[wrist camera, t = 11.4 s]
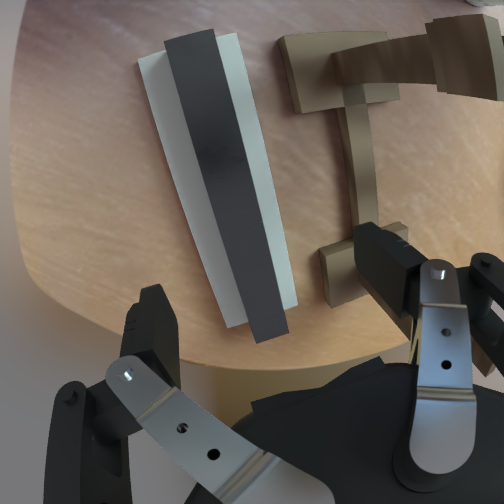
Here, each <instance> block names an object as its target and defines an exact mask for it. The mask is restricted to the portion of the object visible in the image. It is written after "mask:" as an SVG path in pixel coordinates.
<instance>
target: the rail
mask: <svg viewBox="0 0 504 504" xmlns="http://www.w3.org/2000/svg"><path fill="white" fill-rule="evenodd" d="M164 44H165V48H166V52H167V55H168V59H169V63H170V66H171V70H172V74H173V77H174V81H175V84H176V88H177V92H178V95H179V99H180V102H181V106H182V109H183V113H184V116H185V120H186V123H187V126H188V130H189V133H190V137H191V140H192V144H193V147H194V150H195V154H196V157H197V160H198V164H199V167H200V170H201V174H202V177H203V180H204V184H205V187H206V190H207V193H208V197H209V200H210V203H211V206H212V210H213V213H214V216H215V219H216V222H217V226H218V229H219V232H220V235H221V238H222V241H223V245H224V248H225V251H226V254H227V257H228V260H229V263H230V266H231V269H232V272H233V276H234V279H235V282H236V285H237V288H238V291H239V294H240V297H241V300H242V303H243V306H244V309H245V312H246V315H247V318H248V321H249V324H250V327H251V330H252V333H253V336H254V339H255V342H256V344H257V343H260V342H263V341H266V340H269V339H272V338H275V337H278V336H281V335H284V334H287V333H289V331H288V326H287V322H286V317H285V313H284V309H283V304H282V300H281V296H280V291H279V287H278V283H277V278H276V274H275V270H274V266H273V261H272V257H271V253H270V249H269V244H268V240H267V236H266V232H265V228H264V224H263V220H262V215H261V211H260V207H259V203H258V199H257V195H256V191H255V187H254V183H253V179H252V175H251V171H250V167H249V163H248V159H247V155H246V151H245V147H244V143H243V139H242V135H241V131H240V128H239V124H238V120H237V116H236V112H235V108H234V104H233V101H232V97H231V93H230V89H229V85H228V82H227V78H226V74H225V70H224V67H223V63H222V59H221V56H220V52H219V48H218V45H217V41H216V37H215V34H214V30H213V29H209V30H205V31H200V32H196V33H192V34H188V35H185V36H181V37H177V38H174V39H170V40H167V41H164Z"/></svg>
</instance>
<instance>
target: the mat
mask: <svg viewBox="0 0 504 504" xmlns="http://www.w3.org/2000/svg"><path fill="white" fill-rule="evenodd" d="M216 41H217V45H218V48H219V52H220V56H221V59H222V63H223V67H224V70H225V74H226V78H227V82H228V85H229V89H230V93H231V97H232V101H233V104H234V108H235V112H236V116H237V120H238V124H239V128H240V131H241V135H242V139H243V143H244V147H245V151H246V155H247V159H248V163H249V167H250V171H251V175H252V179H253V183H254V187H255V191H256V195H257V199H258V203H259V207H260V211H261V215H262V220H263V224H264V228H265V232H266V236H267V240H268V244H269V249H270V253H271V257H272V261H273V266H274V270H275V274H276V278H277V283H278V287H279V291H280V296H281V300H282V304H283V309H284V310H286V309H289V308H292V307H295V306H298V302H297V297H296V291H295V286H294V281H293V276H292V271H291V266H290V260H289V255H288V250H287V246H286V241H285V236H284V231H283V226H282V221H281V217H280V212H279V207H278V203H277V198H276V193H275V189H274V184H273V180H272V175H271V171H270V166H269V162H268V158H267V153H266V149H265V145H264V140H263V136H262V132H261V128H260V124H259V119H258V115H257V111H256V107H255V103H254V99H253V95H252V91H251V87H250V83H249V79H248V75H247V72H246V68H245V64H244V60H243V56H242V52H241V49H240V45H239V41H238V38H237V34H236V33H232V34H226V35H222V36H217V37H216ZM138 63H139V67H140V71H141V74H142V78H143V81H144V85H145V89H146V92H147V96H148V99H149V103H150V106H151V109H152V113H153V116H154V120H155V123H156V126H157V129H158V133H159V136H160V139H161V142H162V146H163V149H164V152H165V155H166V158H167V161H168V165H169V168H170V171H171V174H172V177H173V180H174V183H175V186H176V189H177V192H178V195H179V198H180V201H181V204H182V207H183V210H184V213H185V215H186V218H187V221H188V224H189V227H190V230H191V233H192V235H193V238H194V241H195V244H196V247H197V249H198V252H199V255H200V258H201V260H202V263H203V266H204V268H205V271H206V274H207V276H208V279H209V282H210V284H211V287H212V290H213V292H214V295H215V297H216V300H217V303H218V305H219V308H220V310H221V313H222V315H223V318H224V320H225V323H226V325H227V328H231V327H234V326H237V325H240V324H244V323H247V322H249V321H248V318H247V315H246V312H245V309H244V306H243V303H242V300H241V297H240V294H239V291H238V288H237V285H236V282H235V279H234V276H233V272H232V269H231V266H230V263H229V260H228V257H227V254H226V251H225V248H224V245H223V241H222V238H221V235H220V232H219V229H218V226H217V222H216V219H215V216H214V213H213V210H212V206H211V203H210V200H209V197H208V193H207V190H206V187H205V184H204V180H203V177H202V174H201V170H200V167H199V164H198V160H197V157H196V154H195V150H194V147H193V144H192V140H191V137H190V133H189V130H188V126H187V123H186V120H185V116H184V113H183V109H182V106H181V102H180V99H179V95H178V92H177V88H176V84H175V81H174V77H173V74H172V70H171V66H170V63H169V59H168V55H167V52H166V50H164V51H160V52H157V53H154V54H151V55H148V56H145V57H142V58H140V59H138Z"/></svg>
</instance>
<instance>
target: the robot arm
mask: <svg viewBox="0 0 504 504" xmlns="http://www.w3.org/2000/svg"><path fill="white" fill-rule="evenodd" d="M466 1H467V2H469V3H470V4H472V5H474V6H478V7H480V6H495V5H504V0H466ZM353 241H354V260H355V264H356V267H357V269H358V271H359V272H360V274H361V275H362V276H363V277H364V278H365V279H366V280H367V281H368V283H369V284H370V285H371V286H372V287H373V288H374V289H375V291H376V292H377V293H378V294H379V295H380V296H381V297H382V299H383V300H384V301H385V302H386V303H387V304H388V306H389V307H390V308H391V309H392V310H393V311H394V313H395V314H396V315H397V316H398V317H399V319H400V320H401V319H403V318H405V317H408V316H410V315H411V316H412V317H413V321H412V328H411V340H410V350H409V358H408V363H388V364H384V362H383V361H382V359H381V358H380V356H378V357H376V358H374V359H371V360H369V361H367V362H364V363H362V364H359V365H357V366H355V367H352V368H350V369H348V370H347V371H346V372H344V373H343V374H341V375H340V376H338V377H337V378H335V379H334V380H332V381H331V382H329V383H328V384H326V385H325V386H323V387H320V388H315V389H308V390H299V391H291V392H283V393H280V394H276V395H273V396H270V397H267V398H263V399H260V400H256V401H253V402H251V405H252V409H253V412H251V413H249V414H247V415H246V416H244V417H243V418H241V419H240V420H239V421H238V422H236V423H235V424H234V425H233V426H232V427H231V428H228V427H227V426H226V425H224V424H223V423H222V422H220V421H219V420H217V419H216V418H215V417H214V416H212V415H211V414H210V413H208V412H207V411H206V410H204V409H203V408H202V407H200V406H199V405H198V404H197V403H195V402H194V401H193V400H191V399H190V398H189V397H188V396H186V395H185V394H184V393H183V392H182V391H181V383H180V365H179V338H178V323H177V319H176V316H175V313H174V311H173V309H172V307H171V305H170V303H169V301H168V299H167V297H166V294H165V292H164V290H163V288H162V286H161V285H160V284H156V285H152V286H149V287H145V288H142V289H141V293H140V299H139V303H135V304H133V305H132V307H131V308H130V310H129V311H128V313H127V316H126V321H125V324H126V325H125V327H124V333H123V339H122V345H121V351H120V357H119V359H117V360H116V361H114V362H113V363H112V364H111V365H110V366H109V368H108V370H107V372H106V376H105V380H103V381H101V382H99V383H97V384H95V385H93V386H91V387H89V388H86V387H85V385H84V384H83V383H81V382H79V381H72V382H69V383H67V384H65V385H64V386H63V387H62V388H61V389H60V390H59V391H58V393H57V394H56V397H55V401H54V406H53V412H52V418H51V424H50V431H49V438H48V447H47V456H46V467H45V479H44V500H43V504H133V503H132V493H131V482H130V469H129V451H128V436H129V435H131V434H133V433H135V432H137V431H140V430H142V429H144V430H145V431H146V432H147V433H148V434H149V435H150V436H151V437H152V438H153V439H154V440H155V441H156V442H157V443H158V444H159V446H161V447H162V449H163V450H164V451H165V452H166V453H167V454H168V455H169V456H170V457H172V458H173V459H174V460H175V461H176V462H177V463H178V464H179V465H180V466H181V467H182V468H183V469H184V470H185V471H186V472H187V473H189V474H190V475H191V476H192V477H193V478H194V479H195V480H196V481H198V482H197V483H196V485H195V487H194V488H193V490H192V492H191V493H190V495H189V496H188V498H187V500H186V501H185V503H184V504H504V393H501V392H498V391H495V390H491V389H488V388H484V387H482V386H478V385H475V384H472V353H471V338H470V335H471V336H472V337H473V338H474V340H475V341H476V342H477V343H478V344H479V346H480V347H481V348H482V349H483V351H484V352H485V353H486V354H487V356H488V357H489V358H490V360H491V361H492V362H493V364H494V365H495V366H496V367H497V369H498V370H499V371H500V373H501V374H502V375H503V377H504V322H503V321H502V320H501V319H500V317H499V316H498V315H497V314H496V313H495V312H494V311H493V310H492V309H491V305H492V301H493V300H494V301H495V302H496V303H497V304H498V305H500V307H501V308H502V309H503V310H504V263H503V262H502V261H501V260H500V259H499V258H497V257H496V256H494V255H492V254H489V253H476V254H474V255H473V256H472V258H471V263H470V266H468V267H461V268H455V267H454V266H453V265H452V264H451V263H449V262H447V261H445V260H441V259H430V260H429V259H427V258H426V257H425V256H424V255H422V254H421V253H420V252H419V251H418V250H416V249H415V248H414V247H413V246H411V245H409V243H407V242H406V241H405V240H403V239H402V238H401V237H400V236H398V235H397V234H396V233H394V232H391V231H388V230H386V229H384V230H382V229H381V228H380V227H378V226H377V225H376V224H374V223H373V222H371V221H370V222H366V223H363V224H360V225H356V226H354V228H353Z"/></svg>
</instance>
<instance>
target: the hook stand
mask: <svg viewBox="0 0 504 504" xmlns="http://www.w3.org/2000/svg"><path fill="white" fill-rule="evenodd" d="M425 27H426V31H427V34H423V35H416V36H409V37H403V38H397V39H392V40H389V39H388V35H387V32H367V31H349V32H322V33H307V34H296V35H287V36H283V37H281V38H280V39H278V43H279V47H280V51H281V55H282V59H283V63H284V67H285V71H286V75H287V80H288V84H289V88H290V92H291V97H292V101H293V106H294V110H295V113H299V114H304V113H309V112H314V111H320V110H326V109H332V108H336V111H337V116H338V122H339V128H340V134H341V140H342V146H343V153H344V160H345V167H346V175H347V183H348V192H349V201H350V210H351V221H352V233H353V228H354V226H356V225H360V224H363V223H366V222H370V221H371V222H373V223H374V224H376V225H377V226H378V227H379V220H378V201H377V187H376V175H375V165H374V155H373V146H372V138H371V131H370V123H369V117H368V110H367V104H366V103H374V102H383V101H393V100H400V96H399V90H398V84H397V83H419V84H437V90H438V92H447V94H455V95H463V96H470V97H477V98H483V99H489V100H494V101H504V36H501V31H500V27H499V23H498V19H495V18H493V17H490V16H487V15H485V14H474V15H463V16H454V17H446V18H439V19H433V22H431V23H425ZM381 229H382V230H384V229H386V230H388V231H391V232H394V233H396V234H397V235H398V236H400V237H401V238H402V239H403V240H405V241H406V242H407V243H408V227H407V226H405V225H404V224H402V223H401V222H397V223H394V224H391V225H388V226H385V227H382V228H381ZM319 252H320V260H321V267H322V275H323V284H324V292H325V300H326V301H327V303H328V304H329V306H330V307H331V308H333V307H336V306H339V305H341V304H344V303H346V302H349V301H351V300H354V299H357V298H359V297H362V296H364V295H367V294H370V295H371V296H372V297H373V298H374V299H375V301H376V302H377V303H378V304H379V305H380V306H381V307H382V309H383V310H384V311H385V312H386V313H387V314H388V316H389V317H390V318H391V319H392V320H393V321H394V323H395V324H396V325H397V326H398V327H399V329H400V330H401V331H402V332H403V333H404V334H405V336H406V337H407V338H408V339H409V341H410V340H411V328H412V321H413V317H412V316H411V315H410V316H408V317H405V318H403V319H401V320H400V319H399V317H398V316H397V315H396V314H395V313H394V311H393V310H392V309H391V308H390V307H389V306H388V304H387V303H386V302H385V301H384V300H383V299H382V297H381V296H380V295H379V294H378V293H377V292H376V291H375V289H374V288H373V287H372V286H371V285H370V284H369V283H368V281H367V280H366V279H365V278H364V277H363V276H362V275H361V274H360V272H359V271H358V269H357V267H356V264H355V260H354V241H353V237H352V238H349V239H346V240H343V241H340V242H337V243H334V244H331V245H328V246H325V247H322V248H319ZM470 338H471V353H472V363H474V365H475V366H476V367H477V368H478V369H479V370H480V372H481V373H482V374H483V375H484V376H485V377H487V376H488V375H489V374H490V373H492V372H493V371H494V370H495V368H496V366H495V365H494V364H493V362H492V361H491V360H490V358H489V357H488V356H487V354H486V353H485V352H484V351H483V349H482V348H481V347H480V346H479V344H478V343H477V342H476V341H475V340H474V338H473V337H472V336H471V335H470Z"/></svg>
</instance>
